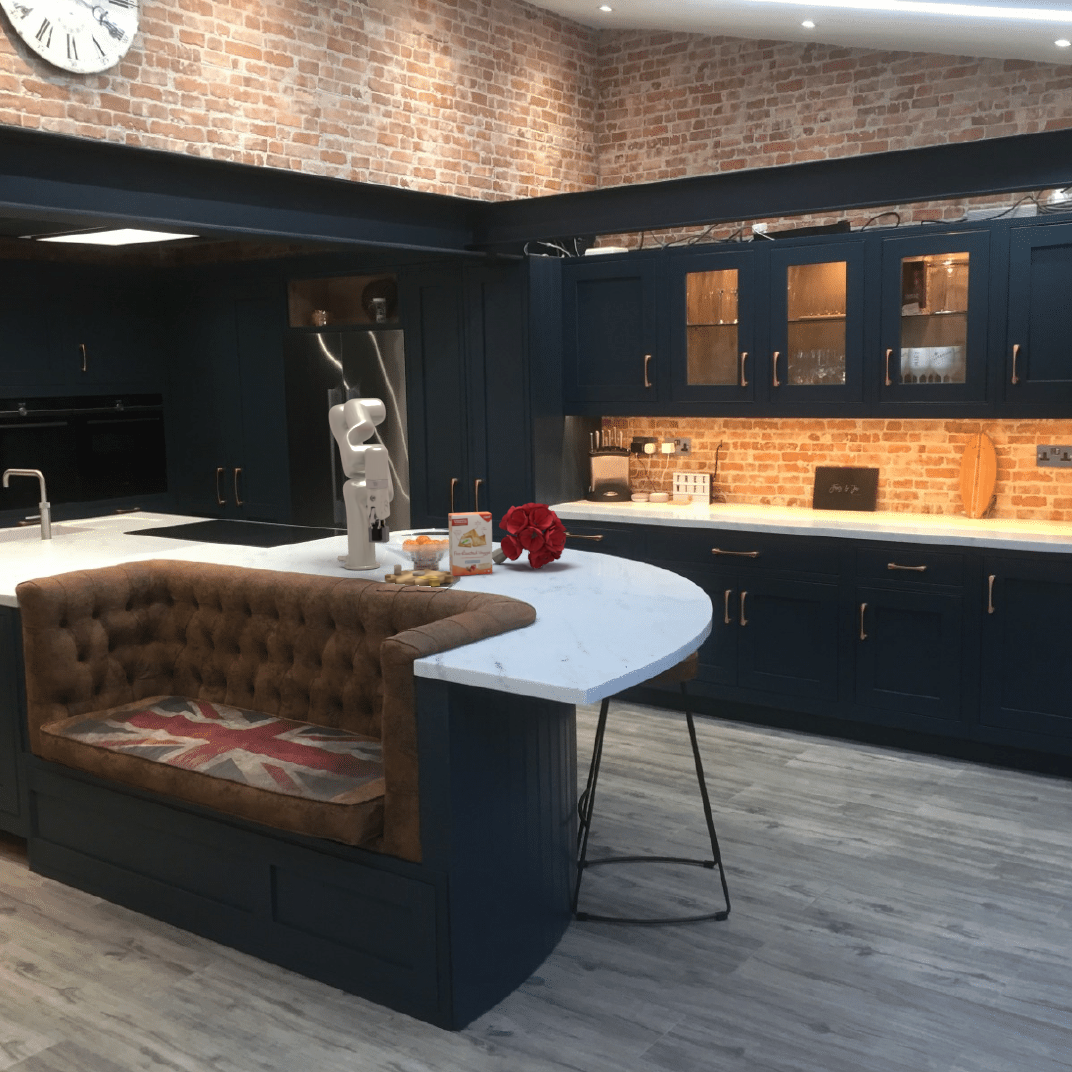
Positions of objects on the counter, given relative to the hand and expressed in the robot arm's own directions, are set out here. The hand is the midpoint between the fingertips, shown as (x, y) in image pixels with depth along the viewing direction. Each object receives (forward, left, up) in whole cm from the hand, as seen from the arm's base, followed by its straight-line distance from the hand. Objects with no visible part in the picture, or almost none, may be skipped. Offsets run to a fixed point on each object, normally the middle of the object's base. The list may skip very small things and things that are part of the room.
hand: (378, 539), depth 388 cm
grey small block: (0, 0, -1) cm, 1 cm away
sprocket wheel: (+16, -9, -12) cm, 22 cm away
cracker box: (+28, +13, -14) cm, 34 cm away
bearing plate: (+16, -9, -14) cm, 23 cm away
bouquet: (+45, +30, -14) cm, 55 cm away
